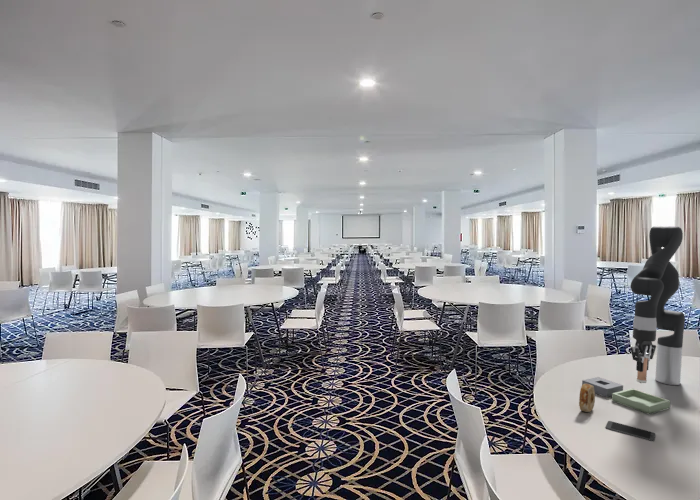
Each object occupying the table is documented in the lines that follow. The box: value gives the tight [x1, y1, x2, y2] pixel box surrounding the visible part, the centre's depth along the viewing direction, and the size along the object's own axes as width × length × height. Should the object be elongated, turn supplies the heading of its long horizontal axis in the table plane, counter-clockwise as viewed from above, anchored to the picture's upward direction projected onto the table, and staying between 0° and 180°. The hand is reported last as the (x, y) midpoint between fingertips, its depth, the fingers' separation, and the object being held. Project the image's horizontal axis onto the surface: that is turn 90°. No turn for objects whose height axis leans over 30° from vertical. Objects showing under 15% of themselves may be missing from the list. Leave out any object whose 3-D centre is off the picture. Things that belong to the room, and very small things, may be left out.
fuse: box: [636, 353, 648, 384], centre depth 166 cm, size 3×3×11 cm
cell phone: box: [604, 420, 656, 442], centre depth 144 cm, size 7×14×1 cm, turn 51°
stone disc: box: [578, 384, 596, 413], centre depth 160 cm, size 10×4×10 cm, turn 134°
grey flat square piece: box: [581, 376, 624, 398], centre depth 181 cm, size 11×11×4 cm
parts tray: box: [611, 388, 671, 415], centre depth 167 cm, size 14×14×3 cm
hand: (642, 370), depth 166 cm, fingers closed on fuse, 3 cm apart
